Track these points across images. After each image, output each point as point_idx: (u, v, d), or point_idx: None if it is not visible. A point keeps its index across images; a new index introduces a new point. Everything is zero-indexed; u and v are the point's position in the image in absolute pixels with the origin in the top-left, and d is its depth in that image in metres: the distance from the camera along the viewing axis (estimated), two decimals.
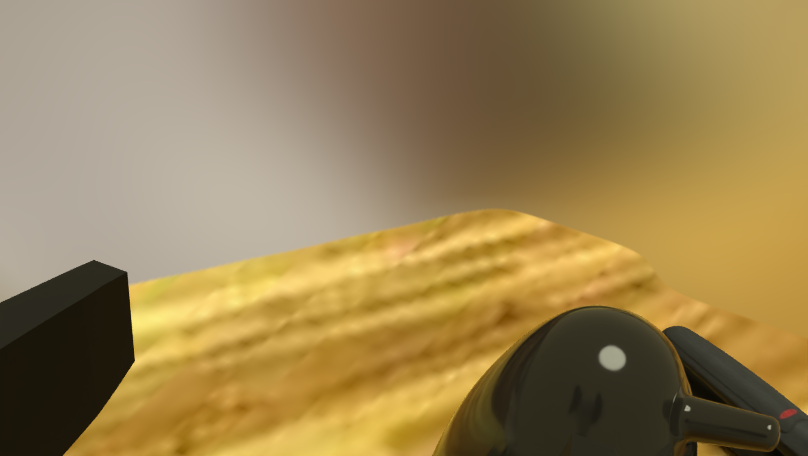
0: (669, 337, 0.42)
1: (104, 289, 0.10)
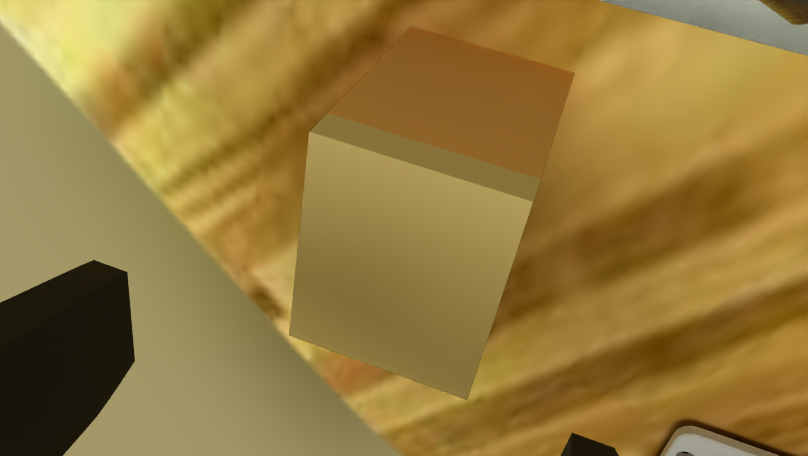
0: None
1: (104, 289, 0.10)
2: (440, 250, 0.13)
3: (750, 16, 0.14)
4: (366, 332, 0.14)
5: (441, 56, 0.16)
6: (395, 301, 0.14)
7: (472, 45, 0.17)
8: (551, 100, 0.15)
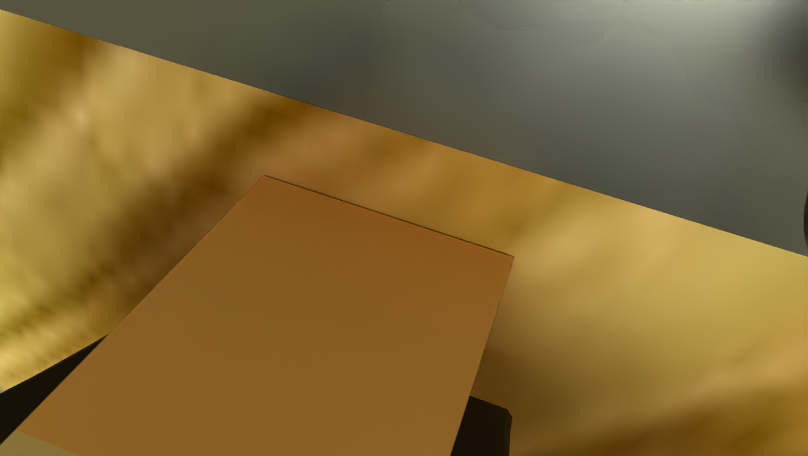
0: None
1: None
2: None
3: None
4: None
5: (294, 241, 0.10)
6: None
7: (354, 210, 0.11)
8: (464, 336, 0.09)
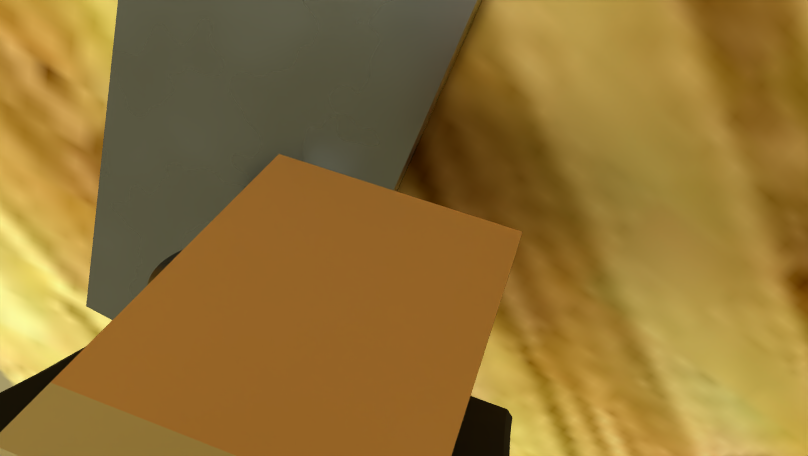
0: None
1: None
2: None
3: None
4: None
5: (310, 215, 0.10)
6: None
7: (367, 186, 0.11)
8: (477, 303, 0.09)
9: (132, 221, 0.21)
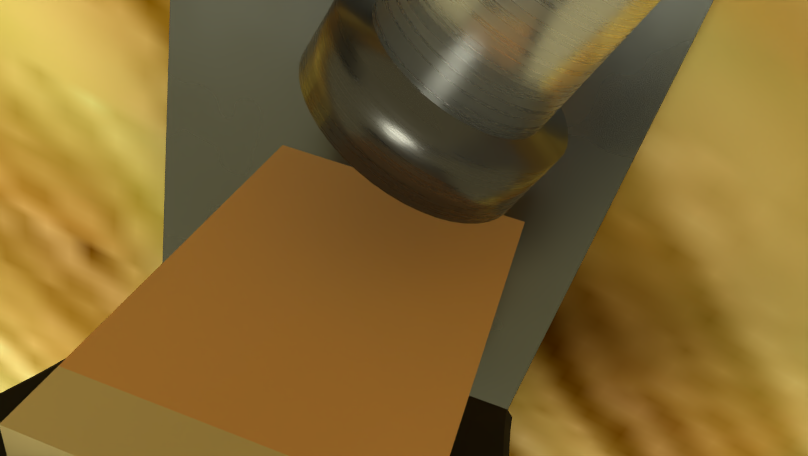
0: None
1: None
2: None
3: (633, 91, 0.10)
4: None
5: (314, 204, 0.10)
6: None
7: None
8: (480, 291, 0.09)
9: None
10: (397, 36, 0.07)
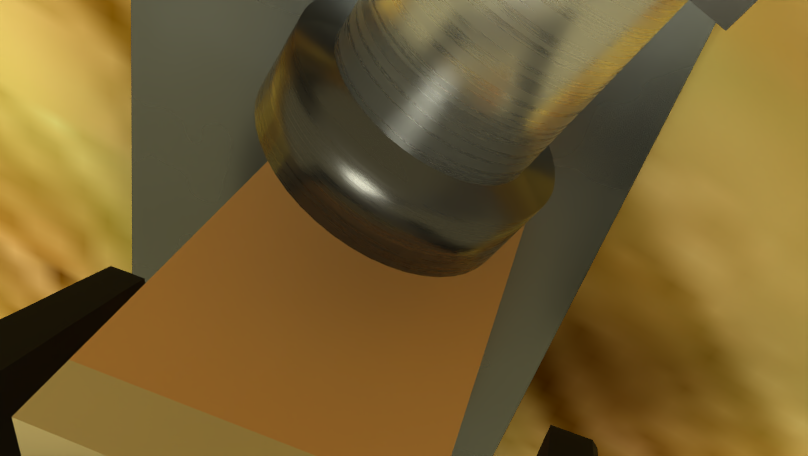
0: None
1: (122, 296, 0.10)
2: None
3: (627, 121, 0.10)
4: None
5: None
6: None
7: None
8: (483, 287, 0.09)
9: None
10: (360, 73, 0.07)
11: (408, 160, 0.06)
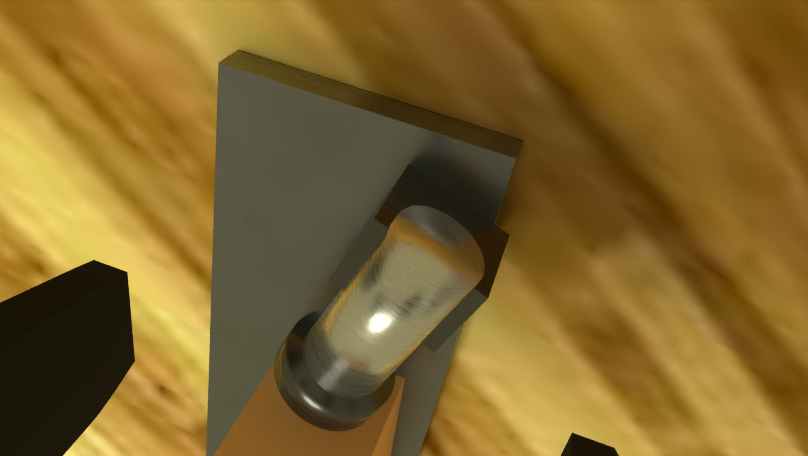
0: None
1: (104, 290, 0.10)
2: None
3: None
4: None
5: None
6: None
7: None
8: (376, 420, 0.21)
9: None
10: (311, 364, 0.18)
11: (328, 396, 0.18)
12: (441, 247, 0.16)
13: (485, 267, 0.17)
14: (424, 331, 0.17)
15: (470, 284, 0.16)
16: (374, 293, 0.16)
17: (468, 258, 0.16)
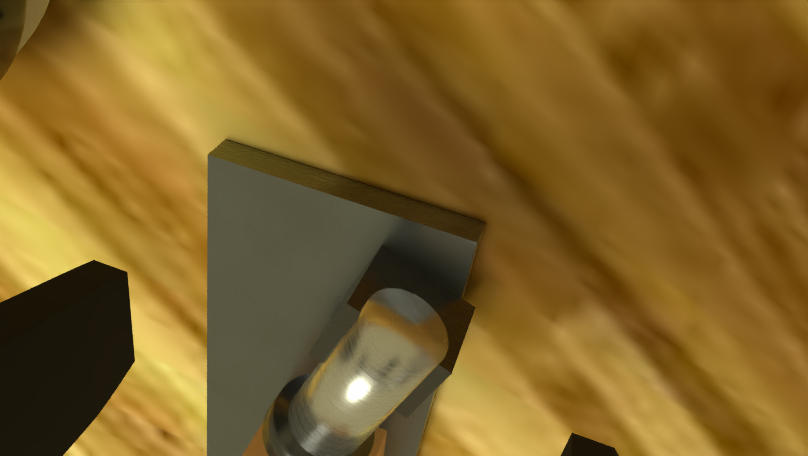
0: None
1: (104, 290, 0.10)
2: None
3: None
4: None
5: None
6: None
7: None
8: None
9: None
10: (295, 429, 0.20)
11: None
12: (408, 328, 0.18)
13: (451, 342, 0.19)
14: (395, 403, 0.18)
15: (434, 363, 0.18)
16: (348, 371, 0.18)
17: (433, 337, 0.18)
